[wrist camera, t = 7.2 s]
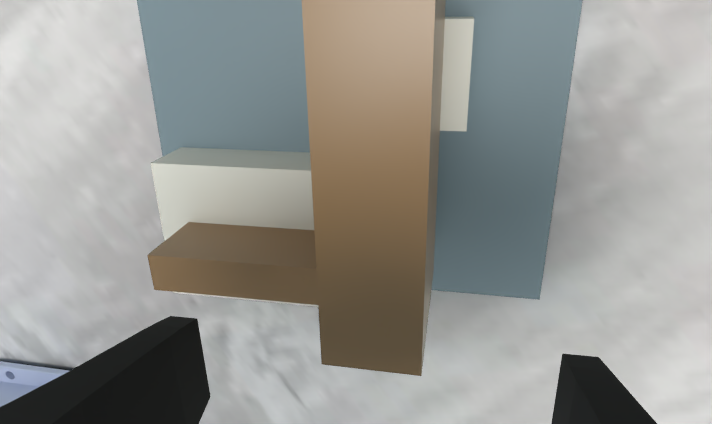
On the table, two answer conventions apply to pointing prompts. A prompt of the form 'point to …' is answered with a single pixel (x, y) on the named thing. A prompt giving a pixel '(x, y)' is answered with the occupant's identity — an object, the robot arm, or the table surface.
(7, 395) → the robot arm
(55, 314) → the table surface
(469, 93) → the stand
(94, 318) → the table surface
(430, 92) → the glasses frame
